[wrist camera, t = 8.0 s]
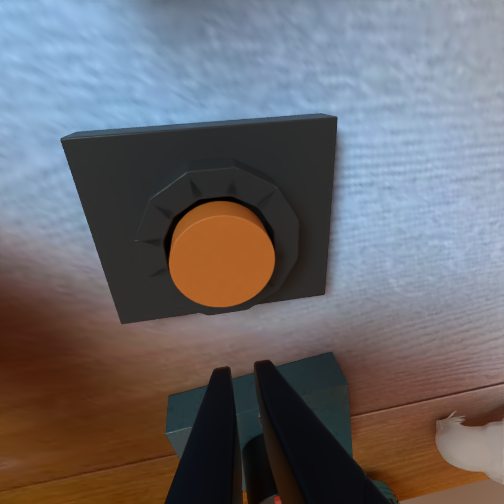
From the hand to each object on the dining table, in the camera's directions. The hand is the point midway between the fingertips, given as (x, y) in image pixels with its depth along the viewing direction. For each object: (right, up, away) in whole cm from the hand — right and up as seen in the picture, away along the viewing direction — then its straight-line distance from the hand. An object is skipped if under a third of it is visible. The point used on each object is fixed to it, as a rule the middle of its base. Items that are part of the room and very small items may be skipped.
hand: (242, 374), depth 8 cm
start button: (-1, +3, +6) cm, 7 cm away
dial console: (+1, -10, +18) cm, 21 cm away
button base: (-2, +5, +10) cm, 11 cm away
